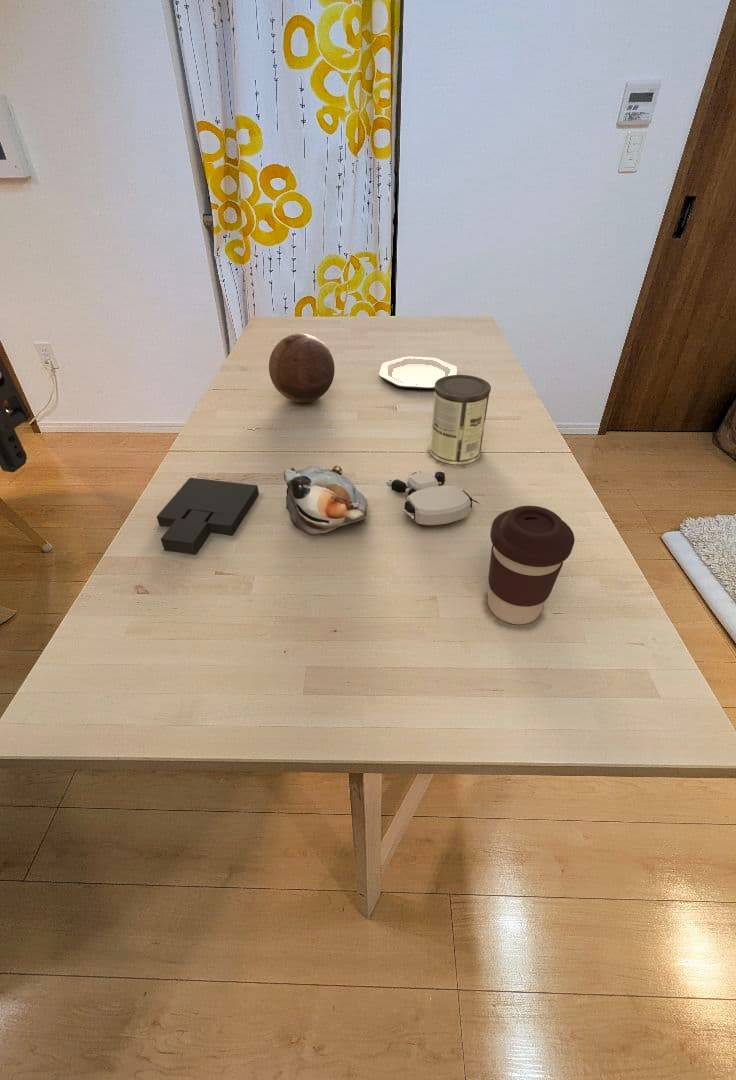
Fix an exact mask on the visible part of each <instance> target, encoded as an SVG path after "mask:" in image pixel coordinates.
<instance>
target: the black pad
mask: <svg viewBox="0 0 736 1080" xmlns="http://www.w3.org/2000/svg"><path fill="white" fill-rule="evenodd" d="M210 518H211V513H210V512H203V511H195V510H191V512H190V513H189V514H188V515H187V517H186V518H185V519H180V518H177V519H176V520H175V521H174V523H173V524H172V525H171V526H170V527H168V529H167V530H166V531H165V533H164V534H163V535H162V536H161V538H160V541H161V545H162V548H163V551H166V552H173V553H179V554H188V555H193V556H194V555H195V556H196V555H197V554H198V553H199V551H200V550H201V548H202V547H203V546H204V544H205V542H207V540H208V538H209V537H210V535H211V534H212V533H210V529H209V525H208V520H209V519H210Z"/></svg>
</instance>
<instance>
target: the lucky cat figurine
mask: <svg viewBox="0 0 736 1080" xmlns="http://www.w3.org/2000/svg"><path fill="white" fill-rule="evenodd" d="M343 473H344V472H343V468H342V467H341V466H340V465H334V466H333V467H332V469H329V468H327V467H323V466H320V465H310V466H307V467H305V468H301V469H299V470H296V469H295V468H294V467H288V468H287V469H286V470H284V471H283V474H282V475H283V479H284V481H285V484H286V496H285V509H286V510H287V512H288V513H289V517H290V520H291V523H292V525H294V526H295V527H297V528H299V529H301V530H302V531H304V532H305V533H306V534H309V535H312V536H315V535H317V534H327V533H329V532H331V531H334V530H335V529H337V528H338V529H339V528H340V527H343V526H346V525H350V524H354V523H357V522H360V521H363V520H365V518H366V516H367V509H368V500H367V498H366V497H365V495H364V494H363V493H362V492H361V491H360V490H359V489H358V488H357V487H356V485H355V484H354V483H353V482H352V480H351V479H350V478H349V477H348V476H347V475H345V474H343Z"/></svg>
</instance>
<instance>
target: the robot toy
mask: <svg viewBox="0 0 736 1080" xmlns="http://www.w3.org/2000/svg"><path fill="white" fill-rule="evenodd" d="M445 483H446V473H445V471H444V470H436V471H435V472H434V474H433V473H432V472H427V471H424V470H419V471H418V472H416V471H415V472H409V473H408V477H407V478H406V482H405V481H402V480H401V479H398V478H397V479H396V478H395V479H393V478H391V479H388V480H386V483H385V484H386V486H387V487H390V488H391V491H393V492H395V493H397V494H407V495H408V496H407V498H406V501H405V502H404V505H403V506H404V507H403V510H402V512H403V514H404V515H406V516H407V517H408V518H409V519H410V520H411V521H414V522H415V523H416V524H418V525H423V526H439V525H440V526H441V525H448V524H452V523H454V522H457V521H459V520H462V519H465V518H466V517H467V516H468V515H469V514H470V513H471V509H472V507H473V502H475V503H476V504H478V505H479V506H483V503H482V502H481V501H479V500H477V499H475V498H473V496H470V495H469V494H468V492H466V490H463V489H462V488H461V487H459V486H455V485H454V486H453V485H445Z"/></svg>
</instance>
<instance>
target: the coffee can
mask: <svg viewBox="0 0 736 1080" xmlns="http://www.w3.org/2000/svg"><path fill="white" fill-rule="evenodd" d="M491 391H492V386H491V384H490V382H488V381H487V380H485V379H483V378H481V377H478V376H475V375H469V374H468V375H467V374H457V375H450V376H445V377H442V378H440V379H438V380H437V381H436V382H435V388H434V398H433V409H432V410H433V412H432V423H431V438H430V447H429V453H430V456H432V458H434V459H435V460H437V461H439V462H441V463H444V464H448V465H453V466H454V465H456V466H461V465H462V466H463V465H468V464H471V463H474V462H476V461H477V460H478V459H479V458H480V457H481V454H482V453H481V451H482V445H483V438H484V433H485V431H484V430H485V424H486V418H487V412H488V405H489V398H490V393H491Z"/></svg>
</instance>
